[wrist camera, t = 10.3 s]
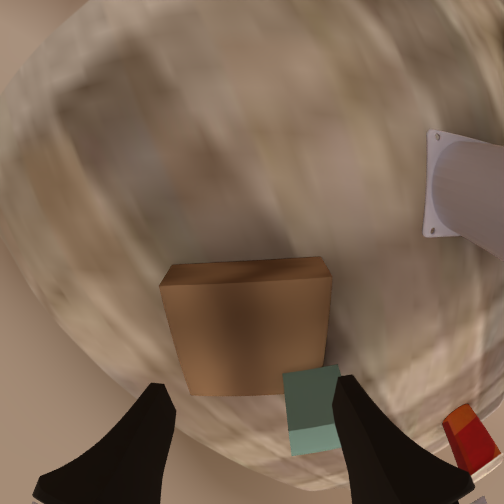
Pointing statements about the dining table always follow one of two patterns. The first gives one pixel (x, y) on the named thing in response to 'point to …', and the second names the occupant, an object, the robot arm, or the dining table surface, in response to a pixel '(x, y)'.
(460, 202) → the robot arm
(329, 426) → the teal block
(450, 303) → the dining table surface
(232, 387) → the walnut plinth
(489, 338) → the dining table surface
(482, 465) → the paper cup
